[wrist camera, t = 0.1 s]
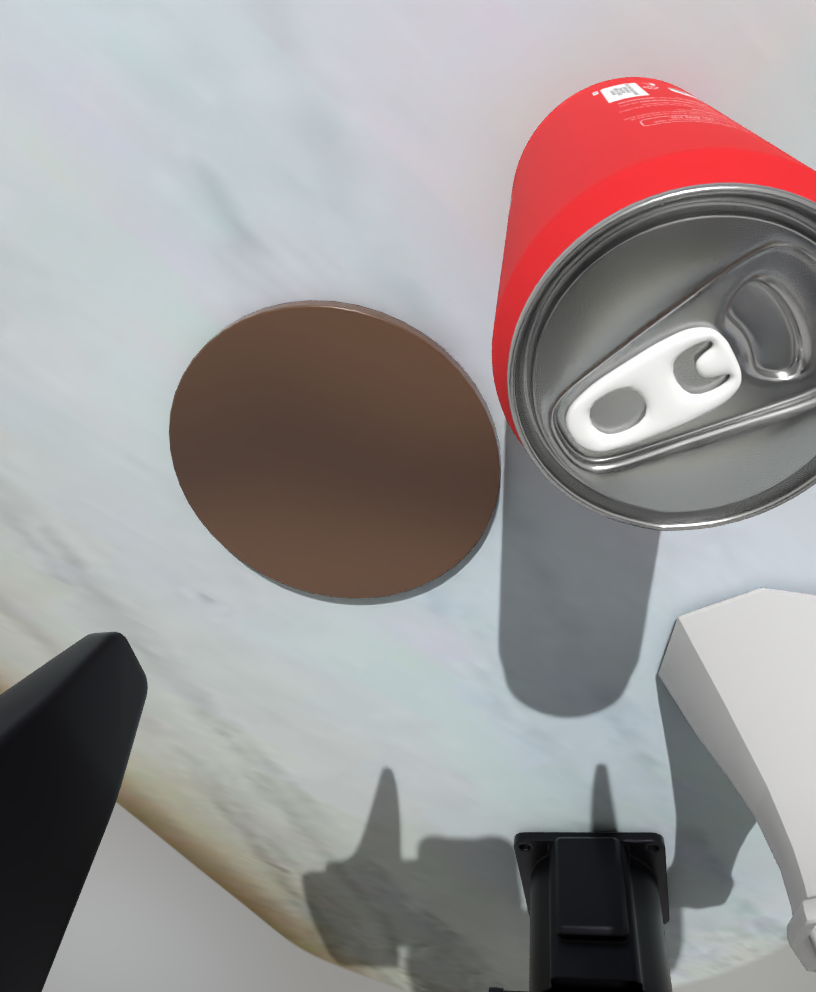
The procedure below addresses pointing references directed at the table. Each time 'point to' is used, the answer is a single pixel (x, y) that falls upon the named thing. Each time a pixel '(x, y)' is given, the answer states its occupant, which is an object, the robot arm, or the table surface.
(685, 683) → the flask
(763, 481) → the beverage can
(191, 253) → the table surface
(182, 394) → the coaster
